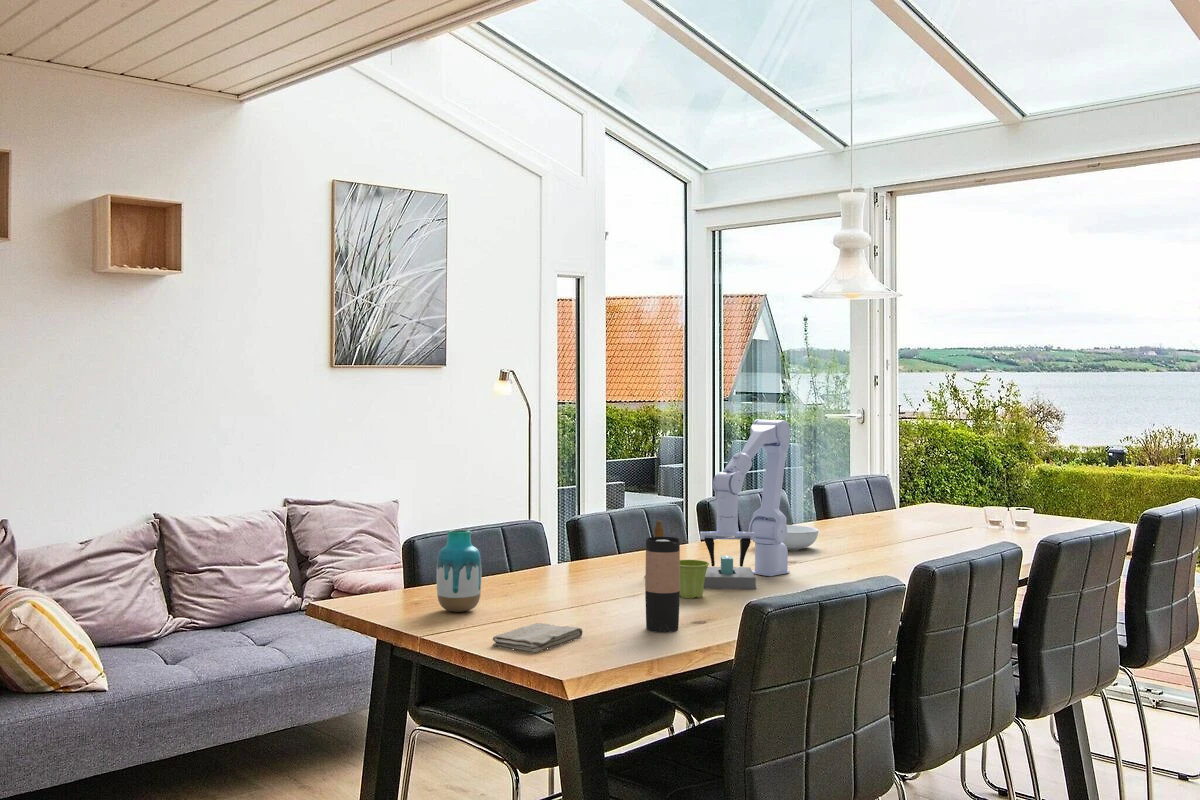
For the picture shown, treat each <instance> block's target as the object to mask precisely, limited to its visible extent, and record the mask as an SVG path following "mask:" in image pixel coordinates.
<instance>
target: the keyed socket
mask: <svg viewBox="0 0 1200 800" xmlns="http://www.w3.org/2000/svg"><path fill="white" fill-rule="evenodd" d="M752 570H753V569H751V567H750V566H749V567H746V566H745V567H744V566H743V567H739V566H736V567H734V566H733V574H721V566H708V567H707V571H706V575H705V581H704V588H703V589H726V590H727V589H728V590H729V589H731V590H732V589H739V590H741V589H742V590H743V589H745V590H747V589H748V590H756V588H757V587H756V583H757V582H756V580H757V578H756V574H753V572H752Z"/></svg>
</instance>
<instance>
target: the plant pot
mask: <svg viewBox="0 0 1200 800" xmlns="http://www.w3.org/2000/svg"><path fill="white" fill-rule="evenodd" d="M709 566H710V562H709V561H705V560H700V559H680V597H681V598H684V599H694V598H700V599H701V598H702V597H703V593H704V589H705V588H704V581H705V575H706V571H707V567H709Z"/></svg>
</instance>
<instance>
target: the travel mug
mask: <svg viewBox="0 0 1200 800" xmlns="http://www.w3.org/2000/svg"><path fill="white" fill-rule="evenodd" d="M680 545H681V542H680V538H678V537H673V536H663V537H655V536H650V537H647V538H646V539H645V575H646V576H645V575H644V576H645V578H644V579H645V583H644V584H645V585H644V587H645V592H644V593H645V625H646V627H645V628H646V630H647V631H650V632H652V633H674V632H676V631H679V625H680V624H679V623H680V600H681V599H680V597H681V596H680V560H681V555H680V553H681V552H680V551H681V549H680V547H681V546H680Z"/></svg>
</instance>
